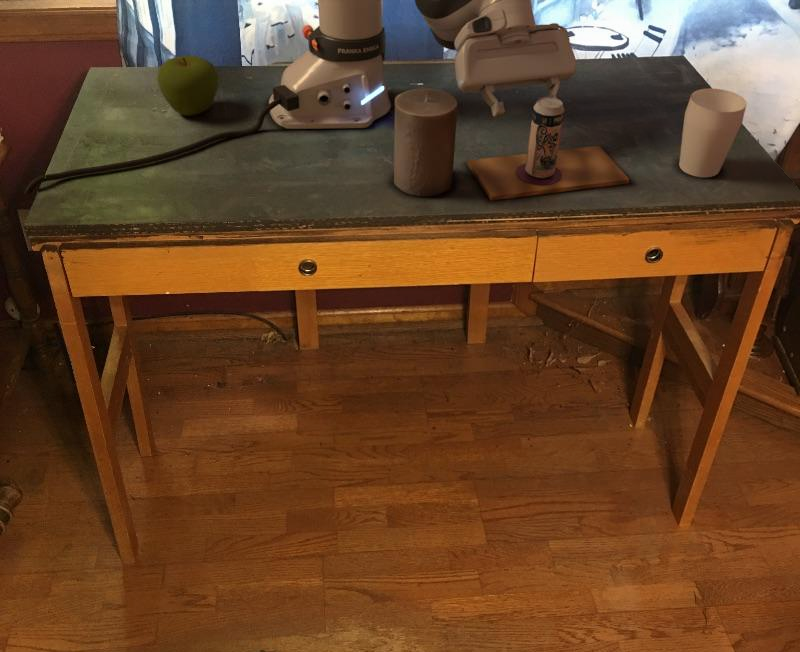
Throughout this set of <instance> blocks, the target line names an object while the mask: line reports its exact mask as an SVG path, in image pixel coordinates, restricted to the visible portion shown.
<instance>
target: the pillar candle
mask: <svg viewBox="0 0 800 652" xmlns="http://www.w3.org/2000/svg"><path fill="white" fill-rule="evenodd" d="M457 121H458V101H457V99H456V97H454V96H453V94H450V93H449V92H447V91H444V90H440V89H436V88H414V89H409V90H406V91H403V92H401V93H399V94H397V95H396V96H395V98H394V138H393V139H394V140H393V148H394V149H393V184H394V186H396V187H397V189H399V190H400V191H402V192H403V193H404V194H407V195H410V196H414V197H420V198H421V197H422V198H423V197H434V196H438V195H441V194H443V193H445V192H447V191H449V190H450V189H451V188H452V186H453V174H454V173H453V172H454V164H455V163H454V162H455V151H456V148H455V147H456V134H457V133H456V132H457Z"/></svg>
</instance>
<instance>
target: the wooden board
mask: <svg viewBox="0 0 800 652" xmlns="http://www.w3.org/2000/svg"><path fill="white" fill-rule="evenodd" d="M526 161H527V153H519V154H513V155H504V156H494V157H486V158H477V159H468V160H467V166H468V168H469V170H470V171H471V172H472V174H473V175H474V177H475V178H476V181H478V183H479V184H480V186H481V188H482V189H483V191H484V192H485V194H486V195H487V197H488V199H489V200H490V201H500V200H507V199H514V198H515V199H516V198H524V197H531V196H540V195H546V194H554V193H556V194H557V193H563V192H571V191H578V190H579V191H580V190H587V189H595V188H603V187H611V186H619V185H627V184H629V183H630V178H629V177H628V176H627V175H626V173H625V172H624V171H623V170H622V169H621V168H620V167H619V166H618V165H617V164H616V163H615V161H613V159H612V158H611V157H610V156H609V155H608V154H607V152H605V150H604V149H603V148H602V147H601V146H600V145H592V146H591V145H590V146H584V147H583V146H582V147H574V148H565V149H558V154H557V160H556V167H555V172H554V174H553V175H551V176H549V177H546V178H536V177H533V176H531V175H530V174H528V173H527V172H526Z"/></svg>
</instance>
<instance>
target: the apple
mask: <svg viewBox="0 0 800 652" xmlns="http://www.w3.org/2000/svg"><path fill="white" fill-rule="evenodd" d="M218 81H219V74H218V72H217V70H216V68H215V66H214V63H211V62H210V61H208V60H207V59H205V58H203V57H200V56H197V55H182V56H180V55H179V56H175V57H171V58H169V59H167V60H166V61H164V62H163V63H162V64H161V65H160V67H159V68H158V72H157V84H158V86H159V89H160V91H161V94H162V96H163V97H164V99H165V100H166V102H167V103H168V105H169V106H170V108H171V109H173V110H174V111H175V112H177V113H179V114H181V115H183V116H188V117H189V116H197V115H200V114H202V113H204V112H205V111H207V110H208V109H209V108H210V107H212V106H213V103H214V100H215V98H216V94H217V91H218V86H219V85H218V84H219V82H218Z"/></svg>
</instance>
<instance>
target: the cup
mask: <svg viewBox="0 0 800 652" xmlns="http://www.w3.org/2000/svg"><path fill="white" fill-rule="evenodd" d="M746 109H747V100H746V99H745V98H744V97H742V96H741V95H739V93H736V92H734V91H730V90H726V89H721V88H712V87H711V88H701V89H697V90H695V91H693V92H692V93H691V94H690V97H689V100H688V103H687V106H686V109H685V111H684V119H683V127H682V135H681V136H682V137H681V143H680V144H681V146H680V153H679V163H678V166H679V168H680V170H682V171H683V172H684V173H685V174H687V175H689V176H692V177H695V178H712V177H715V176H717V175H718V174H719V173H720V171H721V170H722V168H723V167H722V166H723V165H724V163H725V160H726V158H727V157H728V154H729V152H730V150H731V148H732V146H733V144H734V142H735V139H736V137H737V135H738V133H739V131H740V129H741V127H742V124H743V121H744V117H745V113H746Z"/></svg>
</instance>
